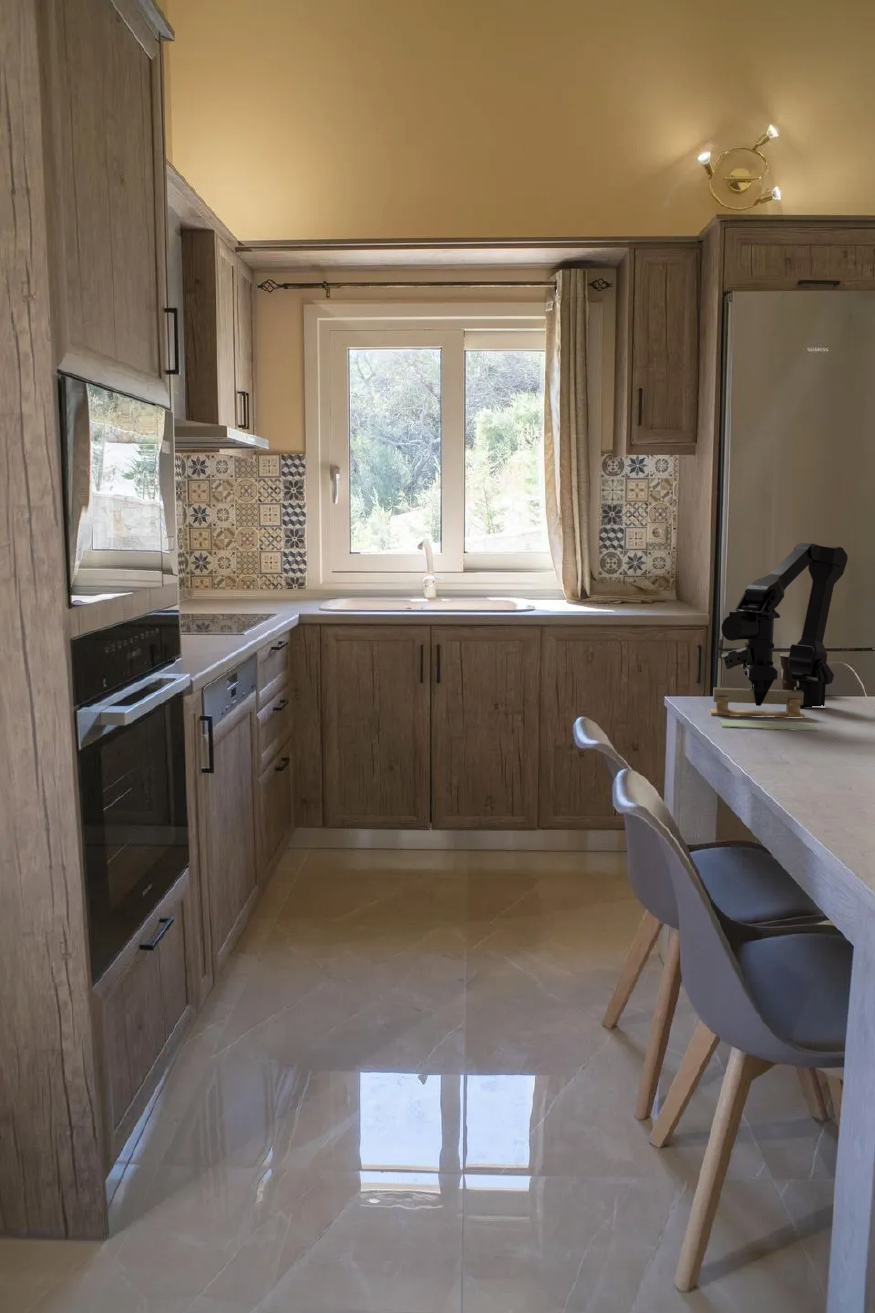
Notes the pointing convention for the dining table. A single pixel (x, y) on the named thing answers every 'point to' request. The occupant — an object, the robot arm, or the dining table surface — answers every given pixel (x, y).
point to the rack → (791, 710)
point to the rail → (748, 696)
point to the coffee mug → (786, 673)
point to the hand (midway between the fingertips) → (757, 704)
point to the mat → (768, 725)
